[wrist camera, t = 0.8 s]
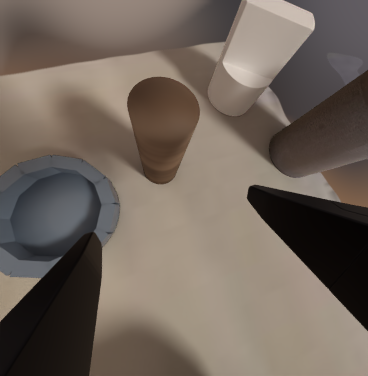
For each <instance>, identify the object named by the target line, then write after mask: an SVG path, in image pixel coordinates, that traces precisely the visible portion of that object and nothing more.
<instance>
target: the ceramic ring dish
mask: <svg viewBox="0 0 368 376" xmlns="http://www.w3.org/2000/svg"><path fill="white" fill-rule="evenodd" d="M119 213H120V203H119V198H118V195H117V192H116V190H115V188H114V187H113V184H112V182H111V181H110V180H109V179H108V178H107V177H106V176H104V175H103V174H102V173H100V172H99V171H98V170H97V169H95V168H94V167H93V166H91V165H90V164H89V163H87V162H86V161H85V160H84V161H83V160H82V159H77V158H70V157H64V156H58V155H52V156H51V155H47V156H44V157H40V158H36V159H32V160H29V161H25V162H21V163H18V166H17V165H14V166H13V167H11V168H10V169H9V170H8V171H6V172H5V173H4V174H3V175H1V176H0V271H1V272H2V273H4V274H5V275H6V276H8V275H10V277H29V278H43V276H44V275H45V274H46V273H47V272H48V271H49V270H50V269H51V268H52V267H53V266H54V265H55V264H56V263H57V262H58V261H59V260H60V259H61V258H62V257H63V256H64V254H65V253H66V252H67V251H68V250H69V249H70V248H71V247H72V246H73V245H74V244H75V243H76V242H77V241H78V240H79V239H80V238H81V237H82V236H83V235H84V234H86V233H89V232H95V233H96V235H97V236H98V238H99V240H100V241H101V244H102V247H103V246H104V245H105V244H106V243H107V242H108V240H109V239H110V238H111V236H112V234H113V232H114V231H115V228H116V226H117V223H118V219H119Z"/></svg>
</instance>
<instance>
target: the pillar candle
mask: <svg viewBox="0 0 368 376" xmlns="http://www.w3.org/2000/svg"><path fill="white" fill-rule="evenodd" d="M269 152H270V156H271V159H272V161H273V163H274V165H275V166H276V167H277V168H278V169H279V170H280V171H281V172H282V173H284V174H285V175H287V176H289V177H293V178H298V177H303V176H307V175H310V174H315V173H318V172H322V171H325V170H329V169H332V168H336V167H339V166H343V165H346V164H350V163H353V162H356V161H361V160H364V159H367V158H368V70H367V71H366V72H364V73H363V74H362V75H360V76H359V77H357V78H356V79H354V80H353V81H351V82H350V83H349V84H347V85H346V86H344V87H343V88H342V89H340V90H339V91H337V92H336V93H335V94H333V95H332V96H330V97H329V98H327V99H326V100H325V101H323V102H321V103H320V104H319V105H317V106H316V107H314V108H313V109H312V110H310V111H309V112H307V113H306V114H304V115H303V116H301V117H300V118H299V119H297V120H296V121H294V122H293V123H291V124H290V125H289V126H287V127H286V128H284V129H283V130H282V131H280V132H278V133H277V134H276V135H275V136H273V138H272V139H271V142H270V148H269Z"/></svg>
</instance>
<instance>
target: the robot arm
mask: <svg viewBox="0 0 368 376" xmlns="http://www.w3.org/2000/svg"><path fill="white" fill-rule="evenodd" d="M247 199H248V201H249V202H250V204H251V205H252V206H253V208H254V209H255V210H256V211H257V213H258V214H259V215H260V216H261V218H262V219H263V220H264V221H265V222H266V223H267V224H268V225H269V227H270V228H271V229H272V230H273V231H274V232H275V233H276V234H277V235H278V236H279V237H280V238H281V239H282V240H283V241H284V242H285V244H286V245H287V246H288V247H289V248H290V249H291V250H292V251H293V252H294V253H295V254H296V255H297V256H298V257H299V258H300V259H301V261H302V262H303V263H304V264H305V265H306V266H307V267H308V268H309V269H310V270H311V271H312V272H313V273H314V274H315V275H316V276H317V277H318V279H319V280H320V281H321V282H322V283H323V284H324V285H325V286H326V287H327V288H328V289H329V290H330V291H331V293H332V294H333V295H334V296H335V297H336V298H337V299H338V300H339V301H340V302H341V303H342V304H343V305H344V306H345V307H346V308H347V310H348V311H349V312H350V313H351V314H352V315H353V316H354V317H355V318H356V319H357V320H358V321H359V322H360V323H361V324H362V326H363V327H364V328H365V329H366V330H367V331H368V208H366V207H361V206H355V205H350V204H345V203H340V202H336V201H331V200H326V199H321V198H317V197H312V196H307V195H302V194H298V193H293V192H288V191H283V190H279V189H274V188H269V187H264V186H259V185H253V186H250V187H249V189H248V195H247ZM101 278H102V244H101V241H100V240H99V238H98V236H97V235H96V233H95V232H89V233H86V234H84V235H83V236H82V237H81V238H80V239H79V240H78V241H77V242H76V243H75V244H74V245H73V246H72V247H71V248H70V249H69V250H68V251H67V252H66V253H65V254H64V256H63V257H62V258H61V259H60V260H59V261H58V262H57V263H56V264H55V265H54V266H53V267H52V268H51V269H50V270H49V271H48V272H47V273H46V274H45V275H44V276H43V278H42V279H41V280H40V281H39V282H38V283H37V284H36V285H35V286H34V287H33V288H32V289H31V290H30V291H29V292H28V293H27V294H26V295H25V296H24V297H23V298H22V299H21V301H20V302H19V303H18V304H17V305H16V306H15V307H14V308H13V309H12V310H11V311H10V312H9V313H8V314H7V315H6V316H5V317H4V318H3V319H2V320H1V322H0V376H89V372H90V364H91V357H92V349H93V341H94V333H95V326H96V318H97V310H98V302H99V295H100V287H101Z"/></svg>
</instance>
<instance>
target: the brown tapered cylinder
mask: <svg viewBox="0 0 368 376" xmlns="http://www.w3.org/2000/svg"><path fill="white" fill-rule="evenodd" d="M127 107H128V112H129V116H130V120H131V123H132V127H133V131H134V135H135V139H136V143H137V147H138V150H139V154H140V158H141V162H142V166H143V170H144V173H145V175H146V177H147V178H148V179H149V180H150V181H151V182H153V183H156V184H166V183H168V182H170V181H171V180H172V179H173V178H174V177H175V175H176V172H177V170H178V168H179V165H180V163H181V161H182V158H183V156H184V153H185V151H186V149H187V146H188V144H189V142H190V139H191V137H192V135H193V132H194V130H195V127H196V125H197V123H198V120H199V115H200V109H199V104H198V101H197V99H196V97H195V96H194V94H193V93H192V92H191V91H190V90H189V89H188V88H187V87H186V86H185V85H183V84H182V83H180V82H178V81H176V80H173V79H170V78H166V77H152V78H147V79H145V80H142V81H141V82H139V83H138V84H136V85H135V86H134V87H133V89H132V90H131V92H130V93H129V96H128V101H127Z"/></svg>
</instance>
